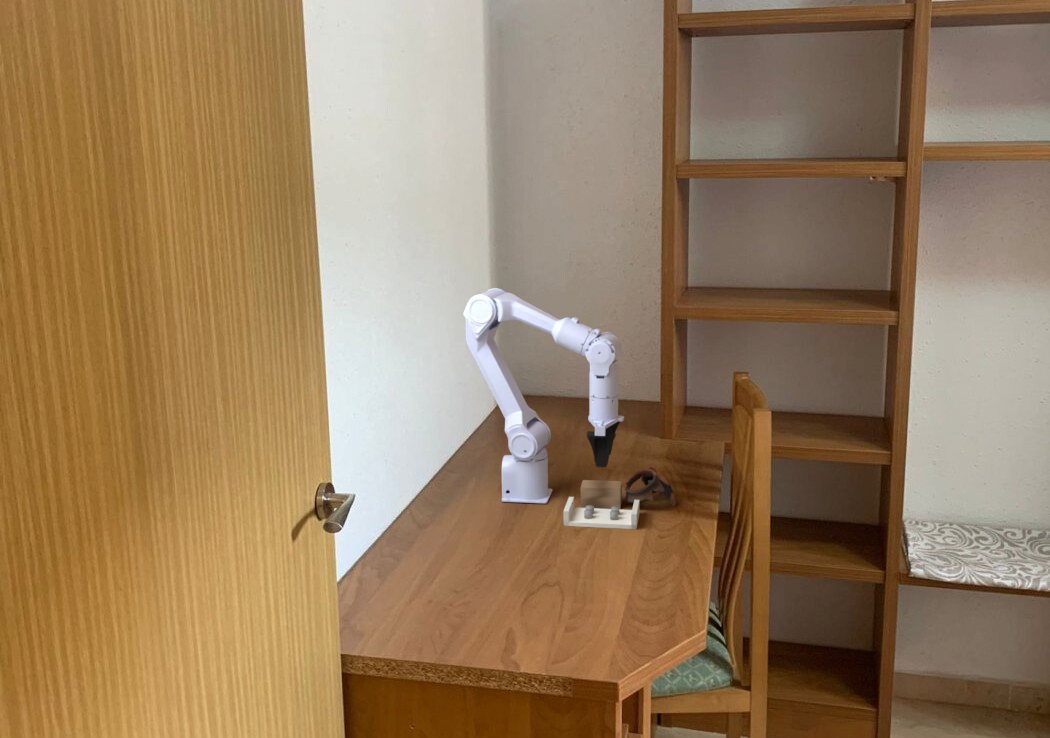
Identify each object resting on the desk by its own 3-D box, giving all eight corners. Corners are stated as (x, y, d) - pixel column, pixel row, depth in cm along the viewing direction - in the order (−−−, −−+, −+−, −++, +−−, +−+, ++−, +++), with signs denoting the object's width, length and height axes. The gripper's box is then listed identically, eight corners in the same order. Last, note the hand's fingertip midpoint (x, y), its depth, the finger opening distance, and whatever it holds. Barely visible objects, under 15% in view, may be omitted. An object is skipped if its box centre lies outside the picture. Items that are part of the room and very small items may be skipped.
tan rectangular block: (580, 508, 209) (580, 487, 208) (583, 500, 213) (582, 480, 212) (620, 510, 208) (620, 488, 207) (621, 502, 212) (621, 481, 211)
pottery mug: (680, 514, 206) (662, 483, 203) (637, 531, 208) (619, 501, 205) (676, 480, 216) (659, 450, 213) (635, 497, 219) (618, 468, 216)
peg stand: (563, 525, 199) (563, 511, 199) (569, 510, 207) (569, 496, 206) (636, 529, 197) (636, 514, 196) (639, 514, 205) (639, 499, 204)
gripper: (620, 405, 198) (620, 472, 201) (626, 386, 212) (626, 450, 215) (584, 403, 199) (584, 471, 202) (592, 385, 213) (592, 448, 216)
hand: (603, 460), depth 208 cm, fingers open, 7 cm apart
